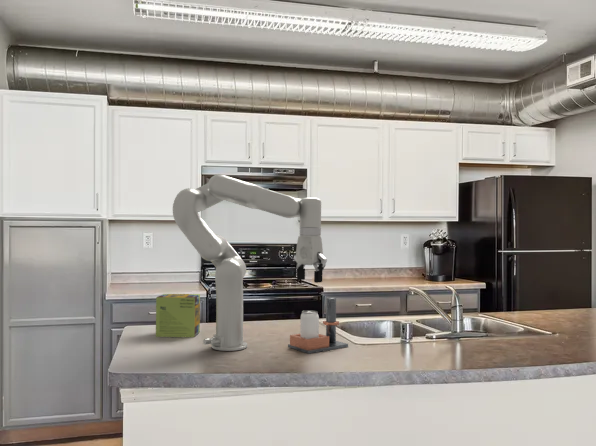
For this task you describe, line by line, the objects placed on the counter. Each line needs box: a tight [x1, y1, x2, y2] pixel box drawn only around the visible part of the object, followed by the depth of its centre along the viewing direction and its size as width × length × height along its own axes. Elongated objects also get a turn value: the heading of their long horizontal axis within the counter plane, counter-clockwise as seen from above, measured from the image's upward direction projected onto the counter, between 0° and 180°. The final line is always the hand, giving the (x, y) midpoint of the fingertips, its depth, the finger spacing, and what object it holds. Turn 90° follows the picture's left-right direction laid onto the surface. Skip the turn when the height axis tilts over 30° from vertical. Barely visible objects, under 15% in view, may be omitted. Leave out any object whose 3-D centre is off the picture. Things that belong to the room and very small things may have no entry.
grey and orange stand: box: [287, 297, 349, 355], centre depth 198 cm, size 18×12×17 cm, turn 127°
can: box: [299, 310, 320, 339], centre depth 195 cm, size 6×6×12 cm
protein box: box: [155, 293, 201, 338], centre depth 218 cm, size 10×15×16 cm
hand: (309, 281), depth 195 cm, fingers open, 9 cm apart
